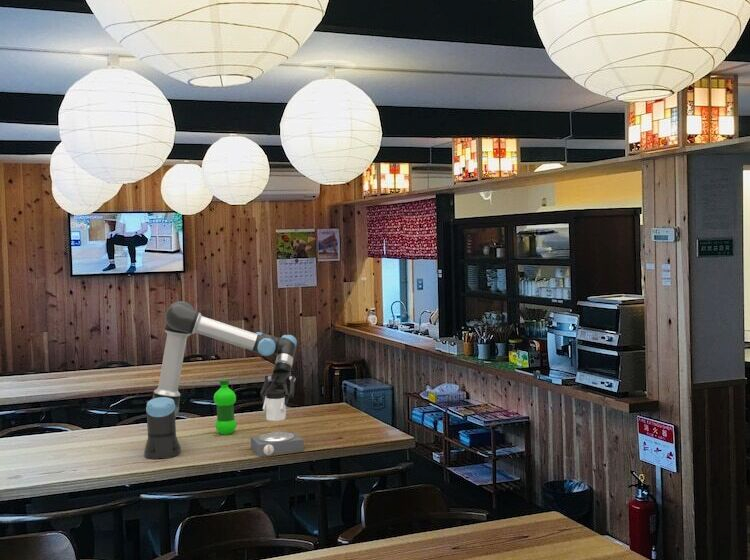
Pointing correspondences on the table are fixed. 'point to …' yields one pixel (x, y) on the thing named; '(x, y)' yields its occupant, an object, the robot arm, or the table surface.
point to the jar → (275, 405)
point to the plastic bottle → (225, 408)
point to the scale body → (276, 446)
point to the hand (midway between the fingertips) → (273, 410)
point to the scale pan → (276, 437)
